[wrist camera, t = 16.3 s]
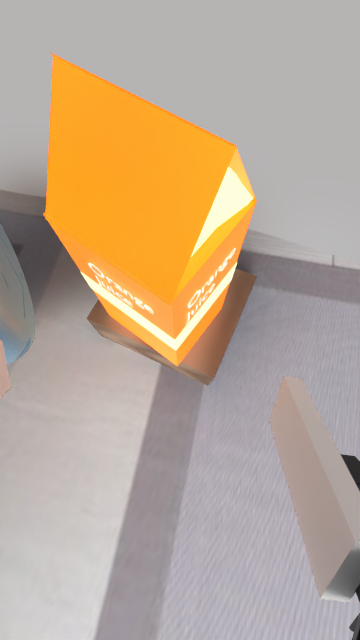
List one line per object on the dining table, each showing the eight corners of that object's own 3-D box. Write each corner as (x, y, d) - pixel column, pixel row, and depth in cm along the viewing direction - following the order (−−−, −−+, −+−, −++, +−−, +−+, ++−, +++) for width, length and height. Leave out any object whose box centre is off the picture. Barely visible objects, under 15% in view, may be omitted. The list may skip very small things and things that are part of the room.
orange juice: (177, 368, 26) (163, 225, 8) (107, 315, 28) (-35, 103, 10) (223, 307, 29) (298, 83, 10) (156, 263, 31) (115, 7, 12)
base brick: (101, 336, 34) (86, 318, 28) (147, 259, 38) (142, 230, 32) (207, 386, 32) (214, 377, 26) (244, 299, 36) (256, 276, 30)
